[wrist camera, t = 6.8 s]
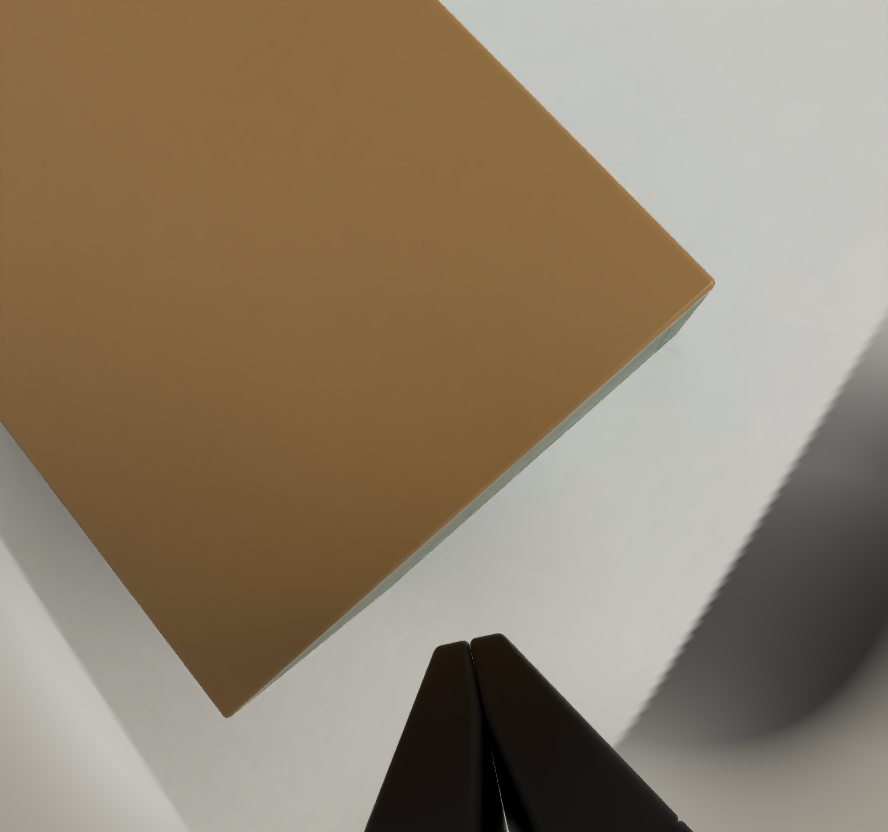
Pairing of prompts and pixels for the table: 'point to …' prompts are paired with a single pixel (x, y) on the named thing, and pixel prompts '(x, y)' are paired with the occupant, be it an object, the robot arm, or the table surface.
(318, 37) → the lid
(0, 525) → the table surface
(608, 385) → the green open box
